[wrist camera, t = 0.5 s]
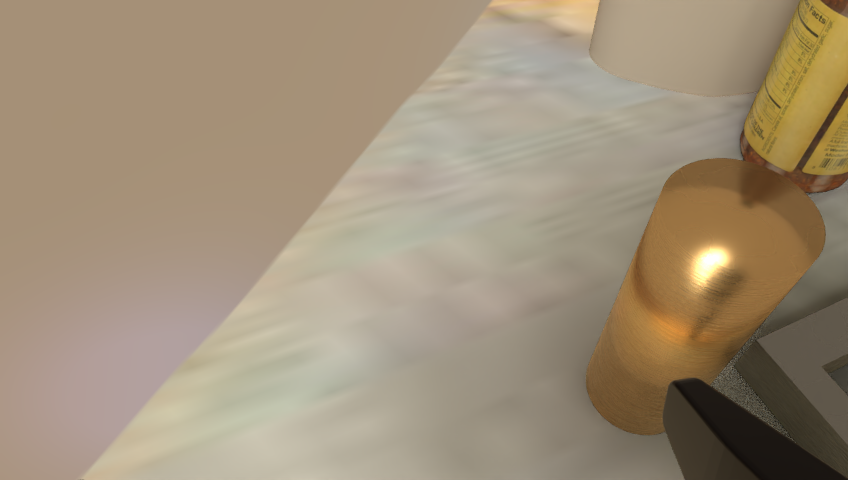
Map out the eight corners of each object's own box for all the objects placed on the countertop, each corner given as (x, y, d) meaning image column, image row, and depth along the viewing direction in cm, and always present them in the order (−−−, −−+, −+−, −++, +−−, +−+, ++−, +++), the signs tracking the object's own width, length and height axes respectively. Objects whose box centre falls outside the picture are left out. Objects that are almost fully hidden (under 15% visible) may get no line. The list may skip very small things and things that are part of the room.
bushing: (709, 409, 26) (862, 244, 16) (623, 451, 25) (731, 302, 15) (647, 327, 28) (748, 141, 19) (567, 363, 27) (629, 186, 18)
